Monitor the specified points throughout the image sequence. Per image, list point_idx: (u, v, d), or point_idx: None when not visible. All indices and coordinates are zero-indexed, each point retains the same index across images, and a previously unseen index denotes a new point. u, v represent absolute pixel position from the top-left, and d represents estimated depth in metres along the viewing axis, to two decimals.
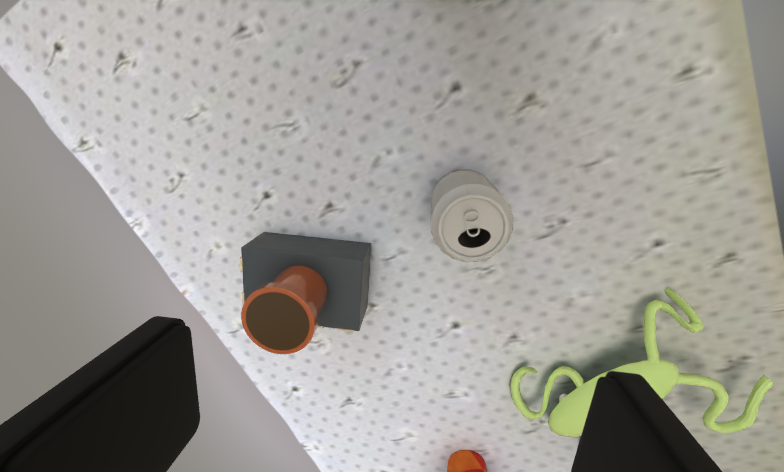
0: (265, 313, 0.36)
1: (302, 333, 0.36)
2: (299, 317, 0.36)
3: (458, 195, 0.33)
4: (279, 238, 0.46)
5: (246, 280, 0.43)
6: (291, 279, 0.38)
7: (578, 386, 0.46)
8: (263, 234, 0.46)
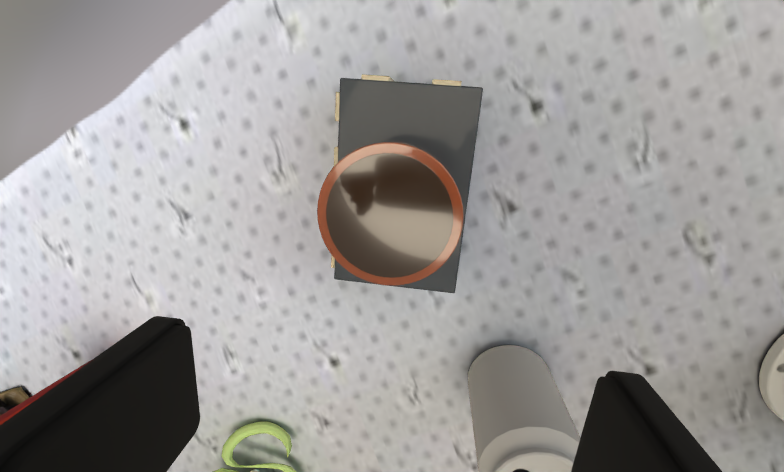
0: (406, 197, 0.18)
1: (367, 263, 0.19)
2: (401, 261, 0.19)
3: None
4: None
5: (416, 90, 0.23)
6: None
7: None
8: None
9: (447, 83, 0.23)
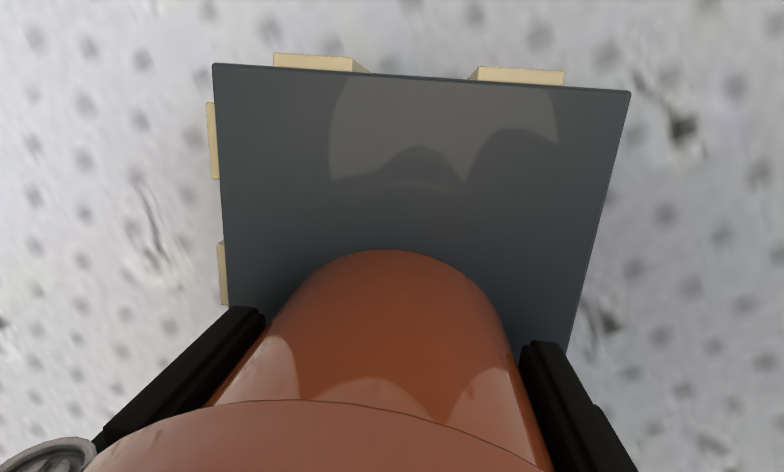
0: None
1: None
2: None
3: None
4: None
5: (431, 99, 0.08)
6: None
7: None
8: None
9: (523, 78, 0.08)
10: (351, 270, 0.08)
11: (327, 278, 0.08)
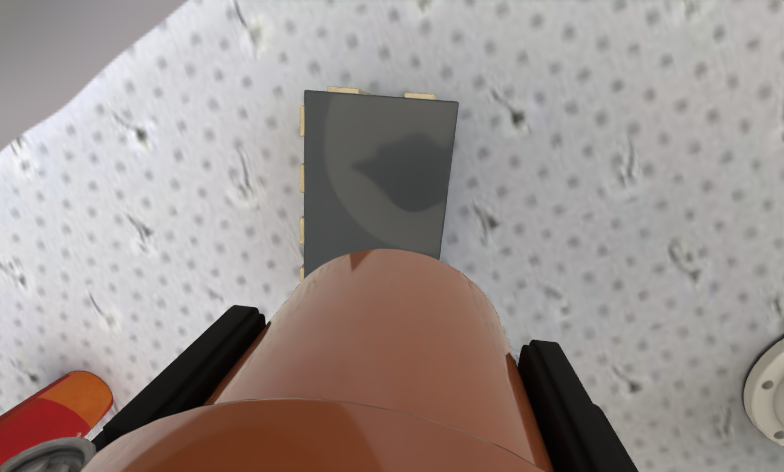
0: None
1: None
2: None
3: None
4: None
5: (387, 104, 0.21)
6: None
7: None
8: None
9: (420, 96, 0.21)
10: (350, 269, 0.08)
11: (326, 277, 0.08)
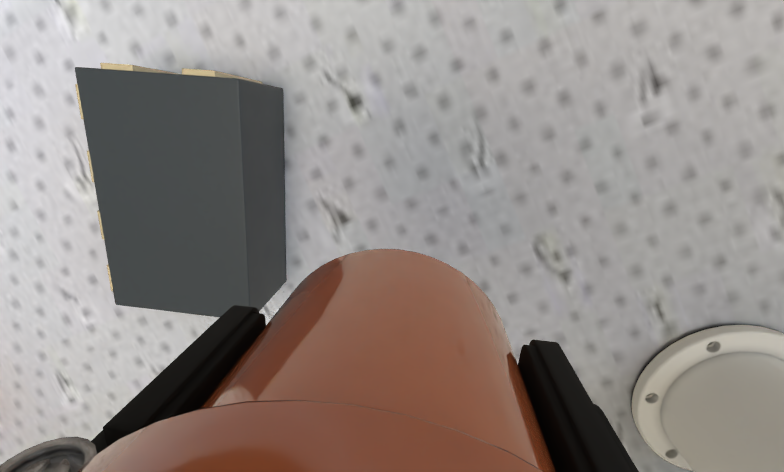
0: None
1: None
2: None
3: None
4: (273, 133, 0.24)
5: (163, 82, 0.19)
6: None
7: None
8: (277, 93, 0.24)
9: (199, 73, 0.19)
10: (351, 269, 0.08)
11: (327, 278, 0.08)
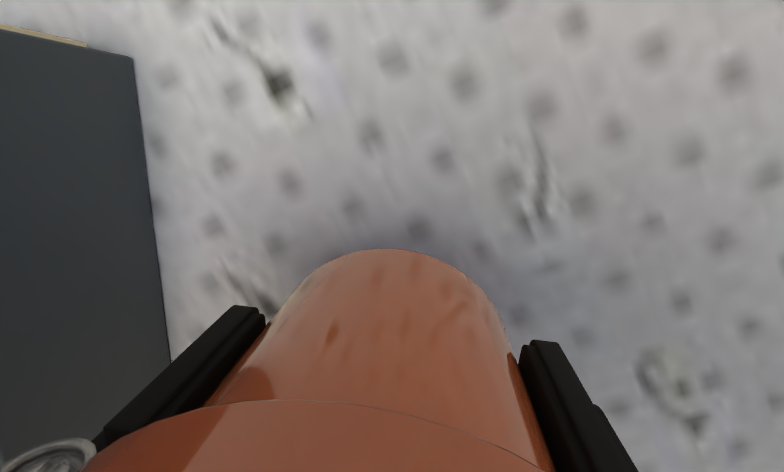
0: None
1: None
2: None
3: None
4: (99, 150, 0.11)
5: None
6: None
7: None
8: (109, 66, 0.11)
9: None
10: (351, 269, 0.08)
11: (326, 278, 0.08)
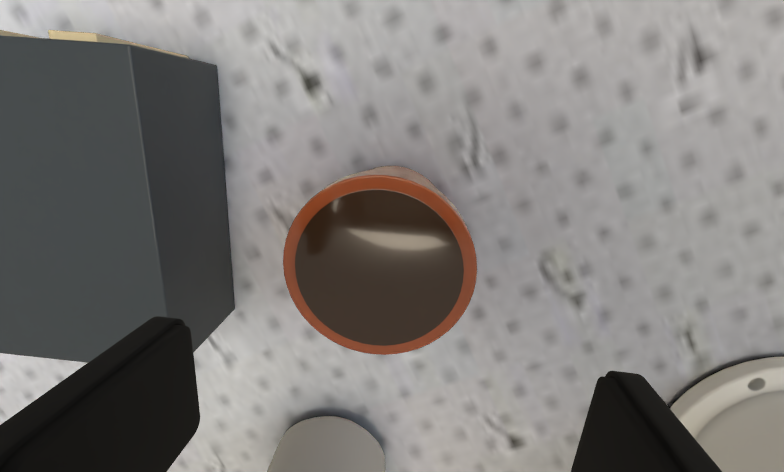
0: (402, 246, 0.14)
1: (351, 328, 0.15)
2: (395, 326, 0.15)
3: None
4: (202, 124, 0.18)
5: (22, 50, 0.13)
6: None
7: None
8: (207, 71, 0.18)
9: (73, 37, 0.13)
10: (375, 170, 0.19)
11: None
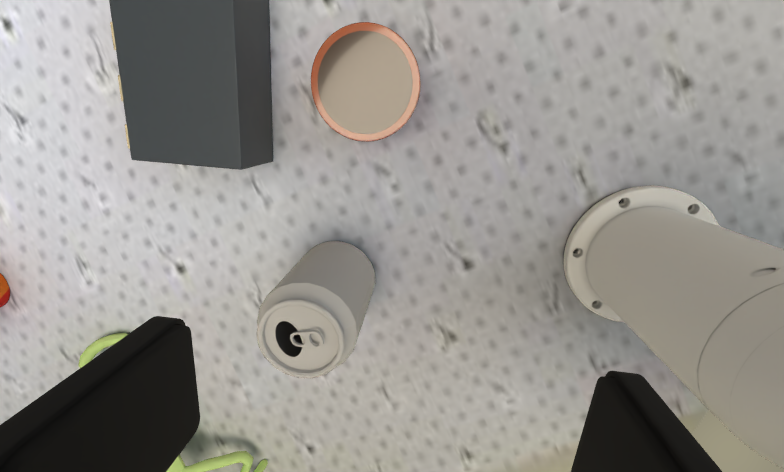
0: (377, 66, 0.24)
1: (349, 122, 0.25)
2: (374, 120, 0.25)
3: (341, 319, 0.26)
4: (260, 19, 0.29)
5: None
6: None
7: None
8: None
9: None
10: None
11: None
